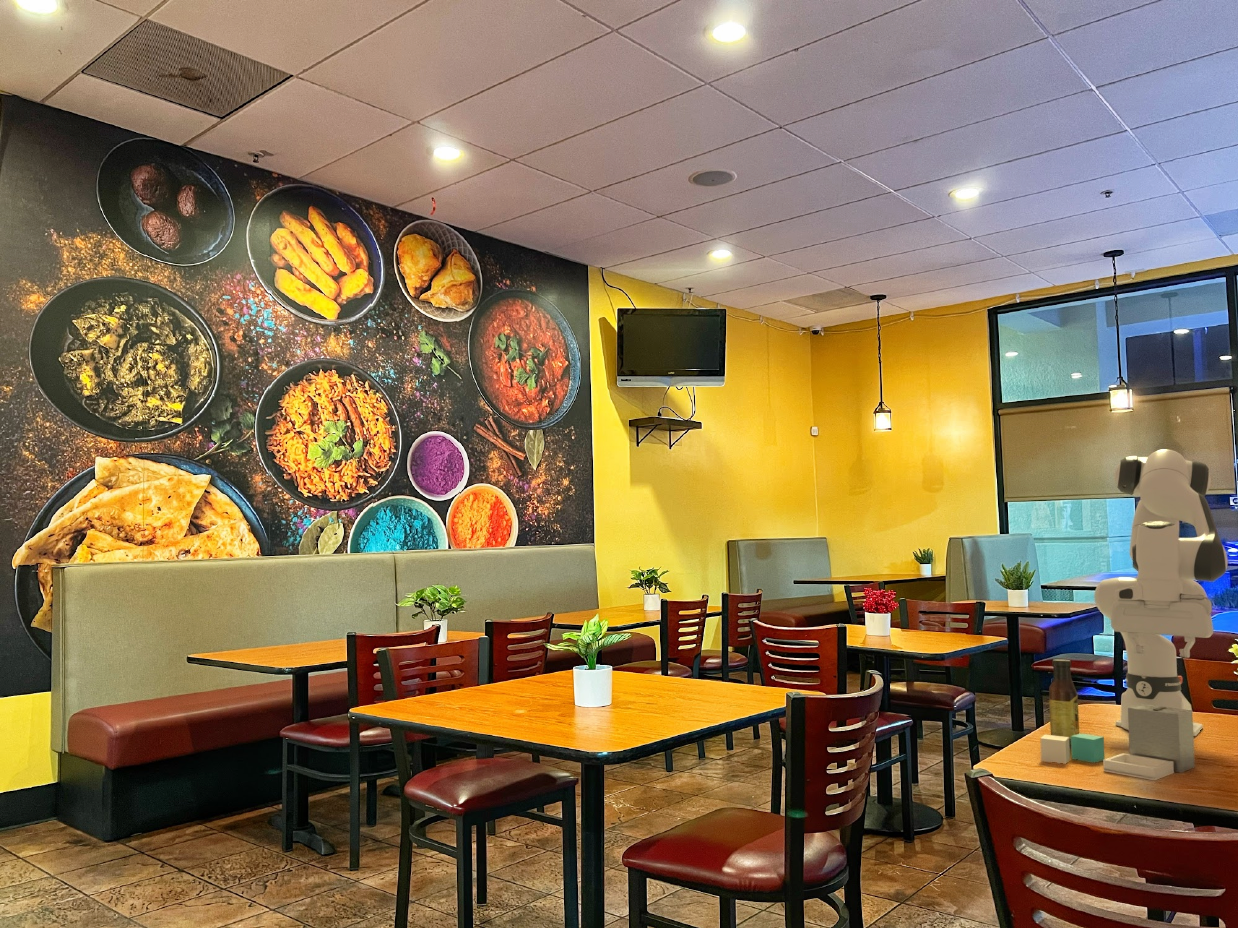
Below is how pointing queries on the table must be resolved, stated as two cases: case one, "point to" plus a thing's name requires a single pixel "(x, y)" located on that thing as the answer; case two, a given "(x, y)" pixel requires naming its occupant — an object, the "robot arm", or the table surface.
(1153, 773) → the tray
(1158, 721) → the dispenser
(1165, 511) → the robot arm
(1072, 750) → the teal block
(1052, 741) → the cream block
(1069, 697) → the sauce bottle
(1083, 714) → the table surface
